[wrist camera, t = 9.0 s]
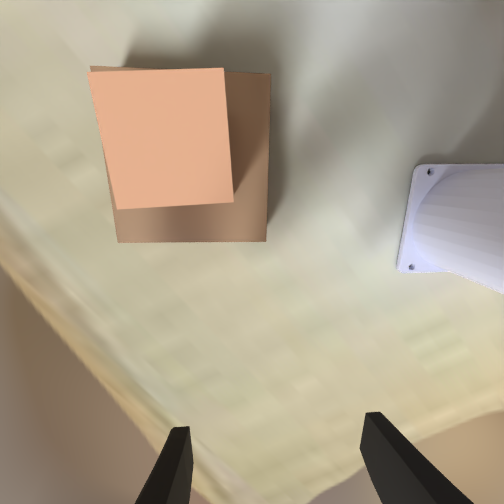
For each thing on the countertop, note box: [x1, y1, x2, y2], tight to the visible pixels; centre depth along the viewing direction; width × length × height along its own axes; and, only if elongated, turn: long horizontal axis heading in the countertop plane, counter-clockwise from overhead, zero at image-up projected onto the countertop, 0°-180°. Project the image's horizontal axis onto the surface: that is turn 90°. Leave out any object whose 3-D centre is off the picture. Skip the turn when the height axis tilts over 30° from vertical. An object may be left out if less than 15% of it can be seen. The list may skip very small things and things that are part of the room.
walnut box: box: [90, 66, 271, 243], centre depth 15 cm, size 9×9×3 cm
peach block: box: [87, 68, 234, 210], centre depth 11 cm, size 4×4×5 cm
